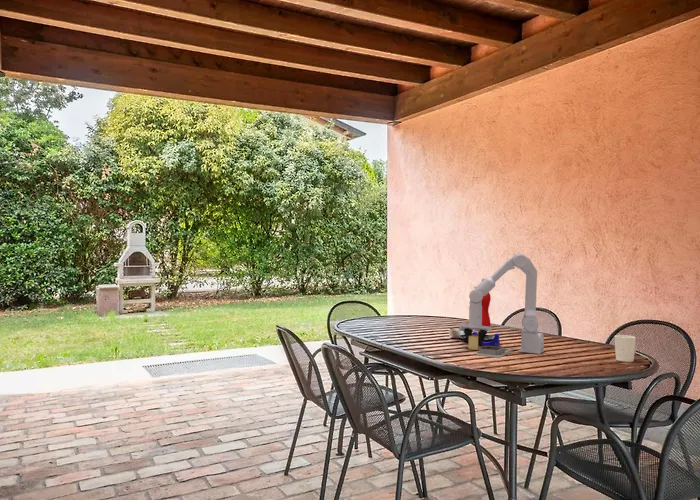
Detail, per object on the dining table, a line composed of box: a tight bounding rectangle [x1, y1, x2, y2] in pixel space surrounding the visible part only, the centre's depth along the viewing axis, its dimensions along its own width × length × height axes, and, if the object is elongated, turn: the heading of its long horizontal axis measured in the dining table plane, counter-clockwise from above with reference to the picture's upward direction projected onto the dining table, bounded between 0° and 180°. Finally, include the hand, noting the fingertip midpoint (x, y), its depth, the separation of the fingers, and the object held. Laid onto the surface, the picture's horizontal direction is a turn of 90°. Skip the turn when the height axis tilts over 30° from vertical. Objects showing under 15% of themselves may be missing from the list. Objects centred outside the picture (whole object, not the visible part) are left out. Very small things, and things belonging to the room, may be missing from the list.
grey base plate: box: [476, 346, 514, 359], centre depth 247 cm, size 10×18×3 cm, turn 146°
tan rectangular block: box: [468, 334, 483, 351], centre depth 257 cm, size 4×4×6 cm
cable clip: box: [472, 331, 501, 347], centre depth 267 cm, size 12×4×6 cm, turn 64°
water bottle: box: [475, 292, 492, 329], centre depth 324 cm, size 9×11×25 cm
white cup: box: [614, 334, 636, 363], centre depth 235 cm, size 8×8×10 cm
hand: (475, 345), depth 257 cm, fingers closed on tan rectangular block, 4 cm apart
